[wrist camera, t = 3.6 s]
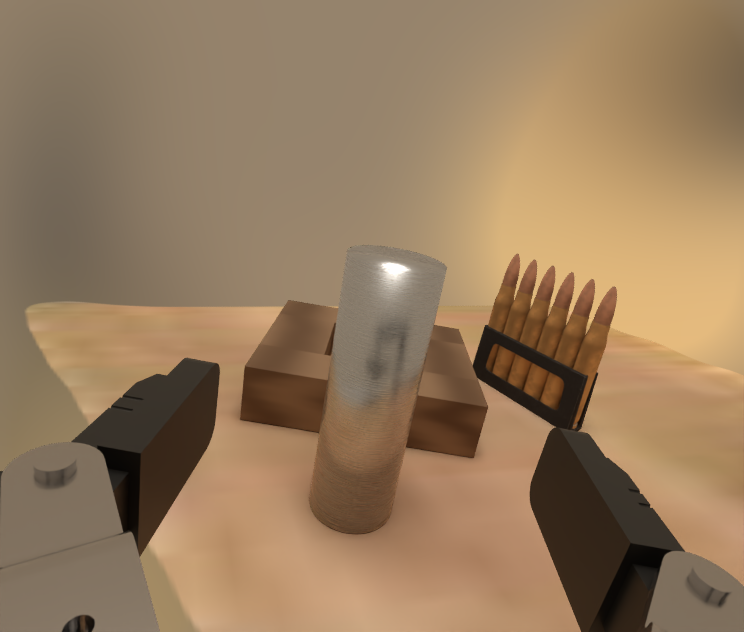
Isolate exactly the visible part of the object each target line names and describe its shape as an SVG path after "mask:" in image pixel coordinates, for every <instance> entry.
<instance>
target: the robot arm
mask: <svg viewBox="0 0 744 632" xmlns="http://www.w3.org/2000/svg"><path fill="white" fill-rule="evenodd" d="M219 375H220V369H219V365H218V364H217V363H212V362H206V361H201V360H196V359H190V358H184V359H183V360H182V361H181V362H180V363H179V364H178V365H177V366H176V367H175V368H174V369H173V370H172V371H171V372H170V373H169V374H168V375H167V376H166V375H161V374H156V375H153V376H151V377H149V378H146V379H144V380H142V381H139V382H137V383H136V384H135V385H133V386H132V387H131V388H130V389H129V390H128V391H127V392H126V393H125V394H124V395H123V397H122V398H121V397H120V398H119V399H118V400H117V401H116V402H115V403H114V404H112V406H111V408H108V409H107V410H106V411H105V412H104V413H103V414H101V415H100V416H99V417H98V418H97V419H96V420H95V421H94V422H93V423H92V424H90V425H89V426H88V427H87V428H86V429H85V430H84V431H83V432H82V433H81V434H79V435H78V436H77V437H76V438H75V439H74V440H73V441H72V442H65V443H54V444H49V445H44V446H41V447H38V448H35V449H32V450H30V451H28V452H26V453H24V454H22V455H20V456H19V457H17V458H15V459H14V460H13V461H12V462H10V463H9V464H8V465H7V467H6V468H5V469H4V471H0V632H160V630H159V626H158V623H157V619H156V615H155V612H154V608H153V604H152V601H151V597H150V593H149V590H148V586H147V582H146V579H145V575H144V571H143V568H142V564H141V561H140V556H141V554H142V552H143V551H144V549H145V548H146V546H147V544H148V543H149V541H150V540H151V538H152V536H153V535H154V533H155V532H156V530H157V528H158V527H159V525H160V523H161V522H162V520H163V519H164V517H165V515H166V514H167V512H168V510H169V509H170V507H171V506H172V504H173V502H174V501H175V499H176V498H177V496H178V494H179V493H180V491H181V489H182V488H183V486H184V485H185V483H186V481H187V480H188V478H189V477H190V475H191V473H192V472H193V470H194V468H195V467H196V465H197V464H198V462H199V460H200V459H201V457H202V455H203V454H204V452H205V451H206V449H207V447H208V445H209V443H210V440H211V438H212V434H213V431H214V426H215V419H216V408H217V397H218V386H219ZM530 503H531V507H532V510H533V513H534V515H535V518H536V520H537V523H538V525H539V528H540V530H541V533H542V535H543V538H544V540H545V542H546V545H547V547H548V550H549V552H550V555H551V557H552V560H553V562H554V565H555V567H556V570H557V572H558V575H559V577H560V580H561V582H562V585H563V587H564V590H565V592H566V595H567V597H568V600H569V602H570V605H571V607H572V610H573V612H574V615H575V617H576V620H577V622H578V625H579V627H580V630H581V632H744V586H743V585H742V584H741V583H740V582H739V581H737V580H736V579H735V578H734V577H733V576H732V575H730V574H729V573H728V572H726V571H725V570H723V569H722V568H721V567H719V566H717V565H716V564H714V563H712V562H710V561H708V560H706V559H705V558H702V557H700V556H697V555H695V554H692V553H688V552H685V551H684V549H683V548H682V547H681V545H680V544H679V543H678V541H677V540H676V539H675V537H674V536H673V535H672V533H671V532H670V531H669V529H668V528H667V527H666V525H665V524H664V523H663V521H662V520H661V518H660V517H659V516H658V514H657V513H656V512H655V510H654V509H653V508H650V504H649V502H648V501H647V500H646V498H645V497H644V496H643V494H640V490H639V489H638V488H637V486H636V485H635V483H634V482H633V481H632V479H631V478H630V477H629V475H628V474H627V473H626V472H624V471H623V470H622V469H621V468H620V467H618V466H617V465H616V464H615V463H614V462H612V461H611V460H610V459H609V458H606V457H605V456H604V454H603V453H602V451H601V450H600V449H599V447H598V446H597V444H596V443H595V442H594V440H593V439H592V437H591V436H590V435H589V434H588V433H584V432H578V431H573V430H567V429H562V428H553V429H552V430H551V431H550V433H549V435H548V437H547V440H546V443H545V445H544V448H543V451H542V453H541V456H540V459H539V462H538V464H537V467H536V470H535V473H534V475H533V478H532V481H531V486H530Z"/></svg>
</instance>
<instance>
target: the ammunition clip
mask: <svg viewBox="0 0 744 632" xmlns="http://www.w3.org/2000/svg"><path fill="white" fill-rule="evenodd" d="M519 268H520V258H519V254H516V255H515V256H514V257H513V259H512V260H511V262H510V264H509V266H508V268H507V271H506V273H505V276H504V280H503V283H502V285H501V288H500V291H499V293H498V295H497V297H496V299H495V303H494V306H493V310H492V313H491V317H490V320H489V324H488V325H485V327H484V331H483V334H482V337H481V340H480V344H479V347H478V350H477V353H476V356H475V360H474V363H473V369H474V371H475V374H476V376H477V378H478V379H480V380H482V381H483V382H485V383H486V384H488V385H490V386H491V387H493V388H494V389H496V390H498V391H499V392H501V393H502V394H504V395H506V396H507V397H509V398H510V399H512V400H514V401H515V402H517V403H518V404H520V405H522V406H523V407H525V408H526V409H528V410H530V411H531V412H533V413H534V414H536V415H538V416H539V417H541V418H542V419H544V420H546V421H547V422H549V423H550V424H552V425H554V426H555V427H557V428H562V429H567V430H573V431H576V430H579V429H581V427H582V424H583V421H584V417H585V414H586V411H587V408H588V405H589V401H590V398H591V395H592V392H593V388H594V385H595V382H596V379H597V376H598V373H597V369H598V366H599V364H600V361H601V358H602V355H603V353H604V350H605V347H606V343H607V335H608V332H609V329H610V324H611V321H612V318H613V315H614V311H615V307H616V300H617V291H616V287H612V288H611V289H610V290H609V291H608V292H607V294H606V295H605V297H604V298H603V300H602V302H601V303H600V306H599V307H598V310H597V312H596V314H595V317H594V320H593V321H592V324H591V326H590V329H589V330H588V332H587V334H586V335H585V333H586V326H587V322H588V319H589V314H590V311H591V308H592V304H593V300H594V293H595V283H594V280H593V279H591V280H590V281H589V282H588V283H587V284H586V285H585V287H584V289H583V290H582V292H581V294H580V296H579V298H578V300H577V302H576V305H575V307H574V310H573V312H572V314H571V317H570V319H569V322H568V323H567V325H566V319H567V315H568V311H569V306H570V303H571V300H572V295H573V290H574V273H572V272H571V273H570V274H569V275H568V276H567V277H566V279H565V280H564V282H563V283H562V285H561V287H560V289H559V291H558V294H557V296H556V299H555V302H554V304H553V306H552V309H551V312H550V314H549V316H548V309H549V305H550V300H551V296H552V293H553V289H554V283H555V267H554V266H551V267H550V268H549V269H548V271H547V272H546V274H545V276H544V277H543V279H542V281H541V284H540V286H539V289H538V292H537V295H536V297H535V299H534V303H533V305H532V307H531V309H530V305H531V299H532V295H533V290H534V286H535V281H536V275H537V263H536V260H533V261H532V262H531V263H530V265H529V266H528V268H527V270H526V271H525V274H524V276H523V278H522V281H521V284H520V287H519V290H518V292H517V295H516V298H515V300H514V294H515V289H516V284H517V280H518V276H519Z"/></svg>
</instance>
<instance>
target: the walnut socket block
mask: <svg viewBox="0 0 744 632" xmlns="http://www.w3.org/2000/svg"><path fill="white" fill-rule="evenodd" d="M337 315H338V308H332V307H326V306H320V305H314V304H308V303H302V302H297V301H291V300H288V302H287V304H286V305H285V306H284V308H283V309H282V311H281V312H280V314H279V315H278V317H277V318H276V320H275V322H274V323H273V325H272V326H271V328H270V329H269V331H268V332H267V334H266V335H265V337H264V338H263V340H262V341H261V343H260V344H259V346H258V347H257V349H256V350H255V352H254V353H253V355H252V356H251V358H250V359H249V361H248V362H247V364H246V365H245V370H244V382H243V394H242V406H241V417H240V419H242V420H248V421H254V422H260V423H266V424H272V425H278V426H284V427H290V428H296V429H302V430H308V431H314V432H320V425H321V419H322V412H323V406H324V399H325V393H326V386H327V380H328V373H329V367H330V360H331V354H332V347H333V341H334V334H335V328H336V321H337ZM487 409H488V405H487V403H486V400H485V398H484V395H483V392H482V390H481V387H480V384H479V382H478V379H477V376H476V374H475V371H474V369H473V366H472V363H471V361H470V358H469V355H468V353H467V350H466V347H465V345H464V342H463V340H462V337H461V334H460V332H459V329H454V328H448V327H443V326H437V325H434V327H433V331H432V335H431V340H430V344H429V348H428V353H427V357H426V361H425V366H424V370H423V374H422V379H421V383H420V388H419V392H418V396H417V401H416V405H415V409H414V414H413V418H412V422H411V427H410V431H409V435H408V440H407V444H406V447H411V448H417V449H423V450H430V451H436V452H442V453H448V454H454V455H460V456H466V457H472V458H474V454H475V451H476V447H477V444H478V440H479V437H480V433H481V430H482V427H483V423H484V420H485V416H486V413H487Z"/></svg>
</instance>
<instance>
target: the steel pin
mask: <svg viewBox="0 0 744 632" xmlns="http://www.w3.org/2000/svg"><path fill="white" fill-rule="evenodd" d="M446 270H447V267H446V266H445V265H444V264H443V263H442V262H440V261H438V260H436V259H434V258H431V257H428V256H425V255H423V254H419V253H415V252H412V251H408V250H403V249H397V248H391V247H385V246H373V245H360V246H353V247H350V248H349V249H348V250H347V256H346V263H345V269H344V276H343V282H342V289H341V295H340V302H339V308H338V315H337V321H336V328H335V334H334V341H333V347H332V354H331V360H330V367H329V373H328V380H327V386H326V393H325V399H324V406H323V412H322V419H321V425H320V432H319V438H318V445H317V452H316V458H315V465H314V471H313V478H312V484H311V491H310V497H309V502H310V507H311V509H312V511H313V513H314V515H315V516H316V517H317V518H318V519H319V520H320V521H321V522H322V523H323V524H325V525H326V526H328V527H330V528H332V529H334V530H337V531H340V532H344V533H349V534H363V533H368V532H372V531H374V530H376V529H378V528H380V527H381V526H383V525H384V524H385V523H386V521H387V520H388V519H389V516H390V514H391V509H392V505H393V501H394V496H395V492H396V488H397V483H398V479H399V475H400V470H401V466H402V462H403V457H404V453H405V448H406V444H407V440H408V435H409V431H410V427H411V422H412V418H413V414H414V409H415V405H416V401H417V396H418V392H419V388H420V383H421V379H422V374H423V370H424V366H425V361H426V357H427V353H428V348H429V344H430V340H431V335H432V331H433V327H434V322H435V318H436V313H437V309H438V304H439V300H440V296H441V292H442V287H443V282H444V279H445V274H446Z"/></svg>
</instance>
